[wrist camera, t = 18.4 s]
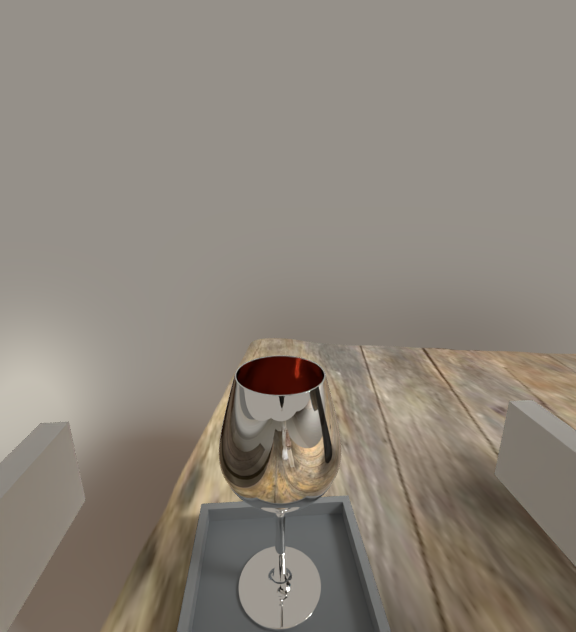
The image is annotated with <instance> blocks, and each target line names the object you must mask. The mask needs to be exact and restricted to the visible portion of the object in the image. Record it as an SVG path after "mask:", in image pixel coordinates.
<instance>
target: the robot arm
mask: <svg viewBox="0 0 576 632" xmlns="http://www.w3.org/2000/svg"><path fill="white" fill-rule="evenodd" d="M495 476H496V477H497V478H498V479H499V480H500V481H501V482H502V484H503V485H504V486H505V487H506V488H507V489H508V490H509V491H510V493H511V494H512V495H513V496H514V497H515V498H516V499H517V501H518V502H519V503H520V504H521V505H522V506H523V507H524V509H525V510H526V511H527V512H528V513H529V514H530V515H531V516H532V518H533V519H534V520H535V521H536V522H537V523H538V524H539V526H540V527H541V528H542V529H543V530H544V531H545V532H546V534H547V535H548V536H549V537H550V538H551V539H552V540H553V541H554V543H555V544H556V545H557V546H558V547H559V548H560V549H561V551H562V552H563V553H564V554H565V555H566V556H567V557H568V558H569V560H570V561H571V562H572V563H573V564H574V565H575V566H576V430H574V429H573V428H571V427H570V426H569V425H567V424H566V423H564V422H563V421H562V420H560V419H559V418H557V417H556V416H554V415H553V414H552V413H550V412H549V411H547V410H546V409H545V408H543V407H542V406H540V405H539V404H537V403H536V402H535V401H533V400H523V401H509V405H508V410H507V415H506V420H505V425H504V430H503V435H502V440H501V445H500V450H499V455H498V460H497V465H496V470H495ZM84 502H85V495H84V491H83V486H82V481H81V476H80V471H79V467H78V462H77V458H76V453H75V448H74V443H73V439H72V434H71V429H70V425H69V422H57V423H56V422H55V423H40V424H39V425H38V426H37V427H36V428H35V429H34V430H33V431H32V432H31V433H30V434H29V435H28V436H27V437H26V438H25V439H24V440H23V441H22V442H21V443H20V444H19V445H18V446H17V447H16V448H15V449H14V450H13V451H12V452H11V453H10V454H9V455H8V456H7V457H6V458H5V459H4V460H3V461H2V462H1V463H0V632H7V631H8V630H9V628H10V626H11V625H12V623H13V621H14V619H15V618H16V616H17V615H18V613H19V611H20V609H21V608H22V606H23V604H24V603H25V601H26V599H27V598H28V596H29V594H30V593H31V591H32V589H33V588H34V586H35V584H36V583H37V581H38V579H39V577H40V576H41V574H42V573H43V571H44V569H45V567H46V566H47V564H48V562H49V561H50V559H51V557H52V555H53V554H54V552H55V551H56V549H57V547H58V545H59V544H60V542H61V541H62V539H63V537H64V536H65V533H66V532H67V530H68V529H69V527H70V525H71V524H72V522H73V520H74V519H75V517H76V515H77V513H78V512H79V510H80V509H81V507H82V505H83V504H84Z"/></svg>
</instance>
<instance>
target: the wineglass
mask: <svg viewBox="0 0 576 632" xmlns="http://www.w3.org/2000/svg"><path fill="white" fill-rule="evenodd" d="M219 462H220V467H221V470H222V473H223V476H224V478H225V480H226V482H227V483H228V485H229V486H230V488H231V489H232V490H233V492H234V493H235V494H236V495H237V496H238V497H239V498H240V499H242V500H243V501H244V502H246V503H247V504H249V505H250V506H252V507H254V508H256V509H259V510H262V511H265V512H269V513H275V546H273V547H269V548H266V549H264V550H262V551H260V552H258V553H257V554H255V555H254V556H253V557H252V558H251V559H250V560H249V561H248V562H247V564H246V565H245V567H244V568H243V570H242V573H241V576H240V579H239V587H238V591H239V599H240V603H241V605H242V608H243V610H244V611H245V613H246V615H247V616H248V617H249V618H250V619H251V620H252V621H253V622H254V623H255V624H257V625H258V626H260V627H262V628H264V629H267V630H271V631H287V630H291V629H294V628H296V627H298V626H300V625H302V624H303V623H304V622H306V621H307V620H308V619H309V618H310V617H311V615H312V614H313V613H314V611H315V610H316V608H317V605H318V603H319V600H320V595H321V580H320V576H319V572H318V570H317V568H316V566H315V564H314V563H313V562H312V560H311V559H310V558H309V557H308V556H307V555H305V554H304V553H303V552H301V551H299V550H297V549H295V548H292V547H288V546H285V543H286V513H290V512H294V511H298V510H301V509H303V508H305V507H307V506H309V505H311V504H312V503H314V502H315V501H316V500H318V499H319V498H320V497H321V496H322V495H323V494H324V493H325V492H326V491H327V490H328V489H329V487H330V486H331V484H332V483H333V481H334V479H335V477H336V475H337V473H338V470H339V467H340V462H341V439H340V433H339V428H338V423H337V418H336V414H335V410H334V405H333V401H332V397H331V393H330V389H329V385H328V382H327V378H326V374H325V371H324V370H323V368H322V367H321V366H319V365H318V364H316V363H315V362H313V361H310V360H307V359H304V358H300V357H294V356H267V357H261V358H257V359H254V360H251V361H248V362H246V363H244V364H243V365H241V366H240V367H239V368H238V369H237V370H236V372H235V376H234V380H233V384H232V387H231V391H230V395H229V399H228V403H227V407H226V411H225V416H224V420H223V425H222V430H221V435H220V442H219Z"/></svg>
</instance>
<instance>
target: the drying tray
mask: <svg viewBox="0 0 576 632" xmlns="http://www.w3.org/2000/svg"><path fill="white" fill-rule="evenodd" d="M273 546H275V513H269V512H265V511H262V510H259V509H256V508H254V507H252V506H250V505H249V504H247V503H246V502H244V501H243V502H226V503H208V504H202V505H201V510H200V515H199V520H198V525H197V531H196V536H195V541H194V546H193V551H192V556H191V561H190V567H189V572H188V577H187V582H186V587H185V592H184V598H183V603H182V608H181V613H180V618H179V623H178V629H177V632H391V630H390V627H389V624H388V621H387V617H386V614H385V611H384V608H383V605H382V601H381V598H380V595H379V592H378V589H377V586H376V582H375V579H374V576H373V573H372V570H371V566H370V563H369V560H368V557H367V554H366V551H365V547H364V544H363V541H362V538H361V535H360V532H359V528H358V525H357V522H356V519H355V516H354V512H353V509H352V506H351V503H350V500H349V497H348V496H332V497H320V498H319V499H318V500H316V501H315V502H314V503H312V504H311V505H309V506H307V507H305V508H303V509H301V510H298V511H294V512H290V513H286V543H285V546H288V547H292V548H295V549H297V550H299V551H301V552H303V553H304V554H305V555H307V556H308V557H309V558H310V559H311V560H312V562H313V563H314V564H315V566H316V568H317V570H318V572H319V576H320V580H321V595H320V600H319V603H318V605H317V608H316V610H315V611H314V613H313V614H312V615H311V617H310V618H309V619H308V620H307V621H306V622H304V623H303V624H302V625H300V626H298V627H296V628H294V629H291V630H287V631H271V630H267V629H264V628H262V627H260V626H258V625H257V624H255V623H254V622H253V621H252V620H251V619H250V618H249V617H248V616H247V615H246V613H245V611H244V610H243V608H242V605H241V603H240V599H239V591H238V587H239V579H240V576H241V573H242V570H243V568H244V567H245V565H246V564H247V562H248V561H249V560H250V559H251V558H252V557H253V556H254V555H255V554H257V553H258V552H260V551H262V550H264V549H266V548H269V547H273Z"/></svg>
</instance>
